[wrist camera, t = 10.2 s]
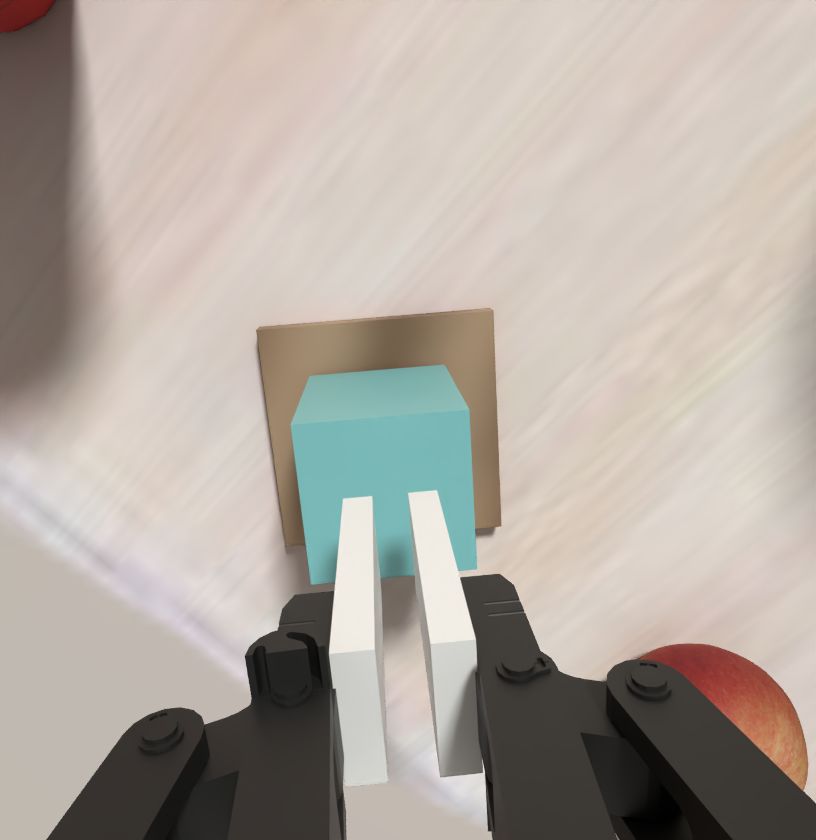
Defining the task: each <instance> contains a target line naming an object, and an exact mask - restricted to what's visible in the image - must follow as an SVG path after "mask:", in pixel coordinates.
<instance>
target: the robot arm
mask: <svg viewBox="0 0 816 840" xmlns="http://www.w3.org/2000/svg"><path fill="white" fill-rule="evenodd" d="M408 500H409V513H410V526H411V538H412V551H413V563H414V576H415V588H416V595H417V603H418V611H419V618H420V626H421V634H422V641H423V649H424V657H425V664H426V672H427V679H428V687H429V695H430V702H431V710H432V718H433V725H434V733H435V740H436V748H437V756H438V763H439V771H440V777H448V776H458V775H467V774H477V773H483V766H482V759H483V764H484V768H485V780H486V800H487V819H488V831H492V838H493V840H617V838H616V835H615V833H616V834H617V836H618V838H619V839H620V840H816V803H815V802H814V801H813V800H812V799H811V798H810V797H809V796H808V795H807V794H806V793H805V792H804V791H802V790H801V789H800V788H799V787H798V786H797V785H796V784H795V783H794V782H793V781H792V780H791V779H790V778H789V777H788V776H787V775H786V774H785V773H784V772H783V771H782V770H781V769H780V768H779V767H778V766H777V765H776V764H775V763H774V762H773V761H772V760H771V759H770V758H769V757H768V756H767V755H765V754H764V753H763V752H762V751H761V750H760V749H759V748H758V747H757V746H756V745H755V744H754V743H753V742H752V741H751V740H750V739H749V738H748V737H747V736H746V735H745V734H744V733H743V732H742V731H741V730H740V729H739V728H738V727H737V726H736V725H735V724H734V723H733V722H732V721H731V720H729V719H728V718H727V717H726V716H725V715H724V714H723V713H722V712H721V711H720V710H719V709H718V708H717V707H716V706H715V705H714V704H713V703H712V702H711V701H710V700H709V699H708V698H707V697H706V696H705V695H704V694H703V693H702V692H701V691H700V690H699V689H698V688H697V687H696V686H695V685H693V684H692V683H691V682H690V681H689V680H688V679H687V678H686V677H685V676H684V675H683V674H681V673H680V672H678V671H677V670H676V669H674V668H673V667H670V666H668V665H665V664H663V663H660V662H657V661H650V660H643V659H638V660H628V661H624V662H622V663H620V664H617V665H615V666H614V667H613V668H612V669H611V670H610V671H609V672H608V674H607V682H602V681H594V680H586V679H581V678H576V677H572V676H569V675H567V674H564V673H562V672H560V671H558V668H557V666H556V664H555V663H554V662H553V660H552V659H551V658H550V657H549V656H547V655H546V654H544V653H543V652H541V651H540V649H539V646H538V644H537V641H536V639H535V636H534V634H533V631H532V629H531V626H530V624H529V621H528V619H527V617H526V614H525V613H524V609H523V607H522V604H521V602H520V600H519V597H518V594H517V592H516V589H515V587H514V585H513V584H512V583H511V582H509V581H508V580H507V579H505V578H504V577H503V576H502V575H500V574H492V575H482V576H471V577H461V578H460V576H459V573H458V569H457V565H456V561H455V557H454V553H453V550H452V546H451V542H450V538H449V534H448V530H447V526H446V523H445V519H444V515H443V511H442V507H441V503H440V500H439V496H438V492H437V490H433V491H422V492H411V493H408ZM245 660H246V666H247V672H248V678H249V684H250V691H251V697H252V699H251V704H250V705H249V706H248V707H246V708H245V709H243V710H242V711H240V712H238V713H236V714H234V715H231V716H229V717H226V718H224V719H221V720H218V721H215V722H211V723H208V724H205V725H204V722H203V719H202V717H201V716H200V715H199V714H197V713H196V712H195V711H194V710H190V709H185V708H171V709H164V710H161V711H158V712H155V713H152V714H149V715H148V716H146V717H144V718H142V719H141V720H139V721H137V722H136V723H134V724H133V725H132V726H131V727H130V728H129V729H128V730H127V731H126V732H125V733H124V734H123V735H122V737H121V738H120V740H119V741H118V742H117V744H116V745H115V746H114V748H113V749H112V750H111V752H110V753H109V754H108V756H107V757H106V759H105V760H104V761H103V763H102V764H101V765H100V767H99V768H98V770H97V771H96V772H95V774H94V775H93V776H92V778H91V779H90V781H89V782H88V783H87V785H86V786H85V787H84V789H83V790H82V791H81V793H80V794H79V796H78V797H77V798H76V800H75V801H74V802H73V804H72V805H71V807H70V808H69V809H68V811H67V812H66V813H65V815H64V816H63V818H62V819H61V820H60V822H59V823H58V825H57V826H56V827H55V829H54V830H53V831H52V833H51V834H50V835H49V837H48V838H47V839H46V840H346V810H345V801H344V793H343V773H344V781H345V787H352V786H361V785H372V784H381V783H388V762H387V735H386V707H385V680H384V652H383V625H382V597H381V582H380V572H379V561H378V551H377V540H376V530H375V519H374V509H373V498H372V496H367V497H356V498H344V499H343V504H342V515H341V526H340V537H339V548H338V559H337V570H336V581H335V591H331V592H321V593H310V594H300V595H294V596H293V598H292V599H291V600H290V601H289V602H288V603H287V604H286V605H285V607H284V608H283V609H282V613H281V617H280V622H279V627H278V631H274V632H271V633H269V634H267V635H265V636H263V637H261V638H259V639H258V640H257V641H256V642H254V643H253V644H252V645H251V646H250V647H249V649H248V651H247V653H246V655H245ZM614 831H615V832H614Z"/></svg>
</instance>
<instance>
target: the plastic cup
mask: <svg viewBox="0 0 816 840" xmlns="http://www.w3.org/2000/svg"><path fill="white" fill-rule="evenodd" d="M54 2H55V0H0V33H4V32H11V31H17V30H19V29H21V28H23V27H25V26H27V25H29V24H30V23H32V22H34V21H36V20H38V19H40V18H41V17H43V16H45V15H46V13H47V12H48V10H49V9H50V7H51V6H52V5H53V3H54Z"/></svg>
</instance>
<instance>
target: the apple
mask: <svg viewBox="0 0 816 840" xmlns="http://www.w3.org/2000/svg"><path fill="white" fill-rule="evenodd" d="M640 659H643V660H650V661H657V662H660V663H663V664H665V665H668V666H670V667H673V668H674V669H676V670H677V671H678V672H680V673H681V674H683V675H684V676H685V677H686V678H687V679H688V680H689V681H690V682H691V683H692V684H693V685H695V686H696V687H697V688H698V689H699V690H700V691H701V692H702V693H703V694H704V695H705V696H706V697H707V698H708V699H709V700H710V701H711V702H712V703H713V704H714V705H715V706H716V707H717V708H718V709H719V710H720V711H721V712H722V713H723V714H724V715H725V716H726V717H727V718H728V719H729V720H731V721H732V722H733V723H734V724H735V725H736V726H737V727H738V728H739V729H740V730H741V731H742V732H743V733H744V734H745V735H746V736H747V737H748V738H749V739H750V740H751V741H752V742H753V743H754V744H755V745H756V746H757V747H758V748H759V749H760V750H761V751H762V752H763V753H764V754H765V755H767V756H768V757H769V758H770V759H771V760H772V761H773V762H774V763H775V764H776V765H777V766H778V767H779V768H780V769H781V770H782V771H783V772H784V773H785V774H786V775H787V776H788V777H789V778H790V779H791V780H792V781H793V782H794V783H795V784H796V785H797V786H798V787H799V788H800V789H801V790H802V791H803V790H804V787H805V784H806V780H807V774H808V756H807V749H806V743H805V738H804V734H803V730H802V727H801V724H800V721H799V718H798V715H797V713H796V710H795V708H794V706H793V704H792V702H791V701H790V699H789V698H788V696H787V695H786V693H785V692H784V691H783V689H782V688H781V687H780V686H779V685H778V684H777V683H776V682H775V681H774V680H773V679H772V678H771V677H770V676H769V675H768V674H767V673H766V672H765V671H764V670H762V669H761V668H760V667H758V666H757V665H755V664H754V663H752V662H751V661H749V660H747V659H746V658H743V657H741V656H739V655H737V654H735V653H732V652H730V651H727V650H724V649H721V648H718V647H715V646H711V645H705V644H676V645H669V646H664V647H661V648H658V649H655V650H653V651H651V652H649V653H648V654H646V655H644V656H643V657H641V658H640Z"/></svg>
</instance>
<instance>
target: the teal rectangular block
mask: <svg viewBox="0 0 816 840" xmlns="http://www.w3.org/2000/svg"><path fill="white" fill-rule="evenodd" d="M291 432H292V440H293V448H294V456H295V464H296V471H297V479H298V487H299V495H300V503H301V511H302V519H303V526H304V534H305V542H306V550H307V558H308V566H309V574H310V582H311V585H314V584H325V583H335V581H336V570H337V559H338V548H339V537H340V526H341V515H342V504H343V499H344V498H356V497H367V496H372V498H373V509H374V519H375V530H376V540H377V551H378V561H379V572H380V578H388V577H399V576H410V575H414V563H413V551H412V538H411V526H410V513H409V500H408V493H411V492H422V491H433V490H437V492H438V496H439V500H440V503H441V507H442V511H443V515H444V519H445V523H446V526H447V530H448V534H449V538H450V542H451V546H452V550H453V553H454V557H455V561H456V565H457V569H458V571H463V570H474V569H477V556H476V535H475V515H474V495H473V474H472V454H471V433H470V413H469V408H468V406H467V404H466V402H465V401H464V399H463V397H462V395H461V393H460V392H459V390H458V388H457V386H456V384H455V382H454V381H453V379H452V377H451V375H450V373H449V372H448V370H447V368H446V366H445V365H433V366H421V367H409V368H397V369H385V370H373V371H361V372H349V373H337V374H325V375H313V376H309V378H308V381H307V384H306V386H305V389H304V391H303V394H302V397H301V399H300V402H299V404H298V407H297V409H296V412H295V415H294V417H293V420H292V422H291Z"/></svg>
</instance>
